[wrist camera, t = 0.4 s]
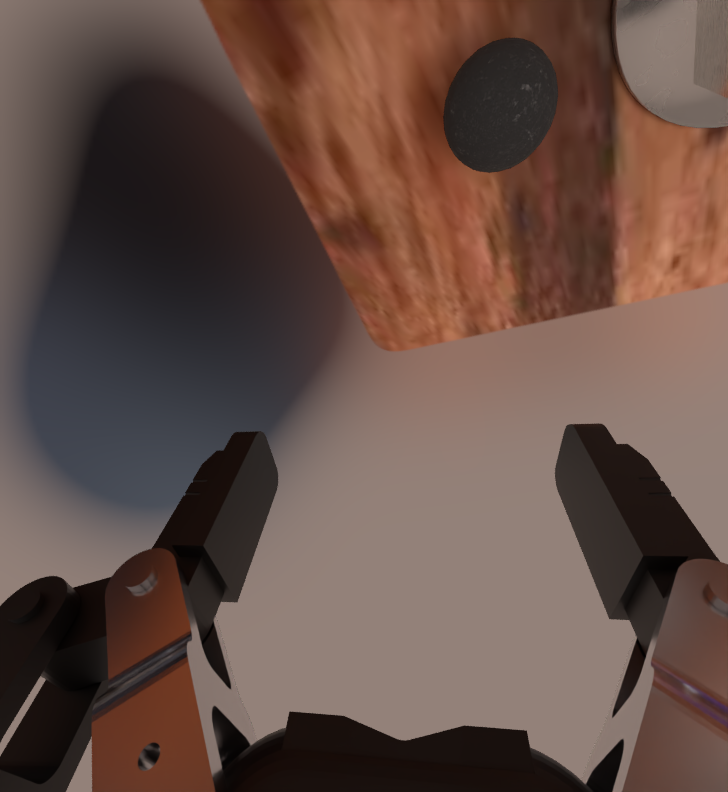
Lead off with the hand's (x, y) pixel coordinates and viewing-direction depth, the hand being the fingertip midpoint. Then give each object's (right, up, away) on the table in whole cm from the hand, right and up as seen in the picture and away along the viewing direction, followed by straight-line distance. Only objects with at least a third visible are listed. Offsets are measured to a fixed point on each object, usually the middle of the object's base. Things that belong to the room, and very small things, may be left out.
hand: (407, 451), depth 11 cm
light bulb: (+7, +22, +15) cm, 27 cm away
